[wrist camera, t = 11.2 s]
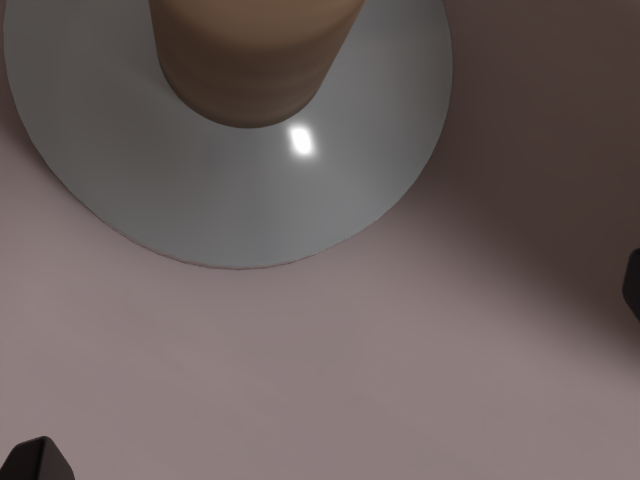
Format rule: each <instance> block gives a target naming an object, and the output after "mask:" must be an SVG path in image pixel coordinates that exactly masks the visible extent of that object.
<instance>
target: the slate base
mask: <svg viewBox="0 0 640 480" xmlns="http://www.w3.org/2000/svg"><path fill="white" fill-rule="evenodd" d="M3 39H4V58H5V64H6V70H7V76H8V82H9V86H10V89H11V92H12V95H13V98H14V102H15V105H16V108H17V111H18V114H19V116H20V118H21V120H22V122H23V124H24V126H25V128H26V130H27V132H28V135H29V137H30V139H31V141H32V142H33V144H34V145H35V147H36V148H37V150H38V151H39V153H40V154H41V156H42V157H43V159H44V160H45V162H46V163H47V165H48V166H49V168H50V169H51V170H52V171H53V172H54V174H55V175H56V176H57V177H58V178H59V179H60V180H61V182H62V183H63V184H64V185H65V186H66V187H67V188H68V189H69V191H70V192H71V193H72V194H73V195H74V196H75V197H77V198H78V199H79V200H80V201H81V202H82V203H83V204H84V205H85V206H86V207H87V208H88V209H89V210H91V211H92V212H93V213H94V214H95V215H96V216H97V217H99V218H100V219H101V220H102V221H103V222H104V223H106V224H107V225H108V226H109V227H111V228H112V229H114V230H115V231H117V232H118V233H120V234H121V235H123V236H124V237H126V238H127V239H129V240H130V241H132V242H134V243H136V244H138V245H140V246H142V247H144V248H146V249H148V250H150V251H152V252H154V253H156V254H158V255H161V256H164V257H167V258H170V259H173V260H176V261H179V262H182V263H186V264H191V265H196V266H201V267H206V268H212V269H226V270H250V269H265V268H270V267H275V266H280V265H285V264H290V263H293V262H296V261H299V260H302V259H305V258H308V257H311V256H314V255H316V254H318V253H320V252H322V251H324V250H326V249H328V248H330V247H332V246H334V245H336V244H338V243H340V242H342V241H344V240H346V239H348V238H350V237H352V236H354V235H355V234H357V233H358V232H360V231H361V230H363V229H364V228H366V227H367V226H369V225H370V224H372V223H373V222H375V221H376V220H378V219H379V218H380V217H381V216H382V215H383V214H385V213H386V212H387V211H388V210H389V209H390V208H391V207H392V206H393V205H395V204H396V203H397V202H398V201H399V200H400V199H401V197H402V196H403V195H404V194H405V193H406V191H407V190H408V189H409V188H410V187H411V186H412V184H413V183H414V182H415V181H416V179H417V178H418V176H419V175H420V173H421V171H422V170H423V168H424V167H425V165H426V164H427V162H428V160H429V159H430V157H431V155H432V152H433V150H434V148H435V146H436V144H437V141H438V139H439V137H440V135H441V132H442V128H443V125H444V122H445V118H446V115H447V112H448V107H449V101H450V95H451V89H452V75H453V53H452V43H451V33H450V28H449V24H448V20H447V15H446V11H445V6H444V4H443V1H442V0H366V1H365V3H364V5H363V7H362V9H361V11H360V13H359V15H358V16H357V18H356V20H355V22H354V24H353V26H352V28H351V30H350V31H349V33H348V35H347V37H346V39H345V41H344V43H343V45H342V47H341V48H340V50H339V52H338V54H337V56H336V58H335V60H334V62H333V63H332V65H331V67H330V69H329V71H328V73H327V75H326V77H325V79H324V80H323V82H322V84H321V86H320V88H319V90H318V91H317V93H316V95H315V96H314V97H313V98H312V100H311V101H310V102H309V103H308V104H307V105H306V106H305V107H304V108H303V109H302V110H301V111H300V112H298V113H297V114H295V115H294V116H293V117H291V118H289V119H287V120H285V121H283V122H280V123H278V124H275V125H272V126H267V127H263V128H253V129H245V128H235V127H228V126H225V125H221V124H218V123H215V122H213V121H211V120H208V119H206V118H204V117H203V116H201V115H199V114H198V113H196V112H195V111H193V110H192V109H191V108H189V107H188V106H187V105H186V104H185V103H184V102H183V101H182V100H181V99H180V98H179V97H178V96H177V95H176V94H175V92H174V91H173V90H172V89H171V87H170V86H169V84H168V82H167V80H166V79H165V77H164V74H163V72H162V70H161V67H160V64H159V60H158V57H157V50H156V44H155V38H154V32H153V26H152V20H151V13H150V7H149V1H148V0H6V6H5V14H4V21H3Z"/></svg>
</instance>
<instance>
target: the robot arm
mask: <svg viewBox="0 0 640 480" xmlns="http://www.w3.org/2000/svg"><path fill="white" fill-rule="evenodd" d="M622 294H623V297H624V300H625V302H626V304H627V305H628V307H629V308H630V310H631V311H632V313H633V314H634V316H635V317H636V319H637V320H638V322H639V323H640V248H638V249H635V250H634V251H633V252H632V253H631V254H630V256H629V260H628V264H627V268H626V272H625V276H624V280H623V284H622ZM0 480H75V477H74V474H73V471H72V469H71V467H70V465H69V464H68V462H67V461H66V459H65V458H64V456H63V455H62V454H61V452H60V451H59V449H58V448H57V446H56V445H55V443H54V442H53V441H52V439H51V438H49V437H47V436H41V437H38V438H35V439H31V440H28V441H25V442H22V443H19V444H18V445H16V446H15V447H14V448H13V449H12V451H11V452H10V454H9V455H8V457H7V459H6V460H5V462H4V464H3V465H2V467H1V469H0Z"/></svg>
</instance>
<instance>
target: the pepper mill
mask: <svg viewBox="0 0 640 480" xmlns="http://www.w3.org/2000/svg"><path fill="white" fill-rule="evenodd" d="M148 1H149V7H150V13H151V20H152V26H153V32H154V38H155V44H156V50H157V57H158V60H159V64H160V67H161V70H162V72H163V74H164V77H165V79H166V80H167V82H168V84H169V86H170V87H171V89H172V90H173V91H174V92H175V94H176V95H177V96H178V97H179V98H180V99H181V100H182V101H183V102H184V103H185V104H186V105H187V106H188V107H189V108H191V109H192V110H193V111H195V112H196V113H198V114H199V115H201V116H203V117H204V118H206V119H208V120H211V121H213V122H215V123H218V124H221V125H225V126H228V127H235V128H245V129H253V128H263V127H267V126H272V125H275V124H278V123H280V122H283V121H285V120H287V119H289V118H291V117H293V116H294V115H295V114H297V113H298V112H300V111H301V110H302V109H303V108H304V107H305V106H306V105H307V104H308V103H309V102H310V101H311V100H312V98H313V97H314V96H315V95H316V93H317V91H318V90H319V88H320V86H321V84H322V82H323V80H324V79H325V77H326V75H327V73H328V71H329V69H330V67H331V65H332V63H333V62H334V60H335V58H336V56H337V54H338V52H339V50H340V48H341V47H342V45H343V43H344V41H345V39H346V37H347V35H348V33H349V31H350V30H351V28H352V26H353V24H354V22H355V20H356V18H357V16H358V15H359V13H360V11H361V9H362V7H363V5H364V3H365V1H366V0H148Z"/></svg>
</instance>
